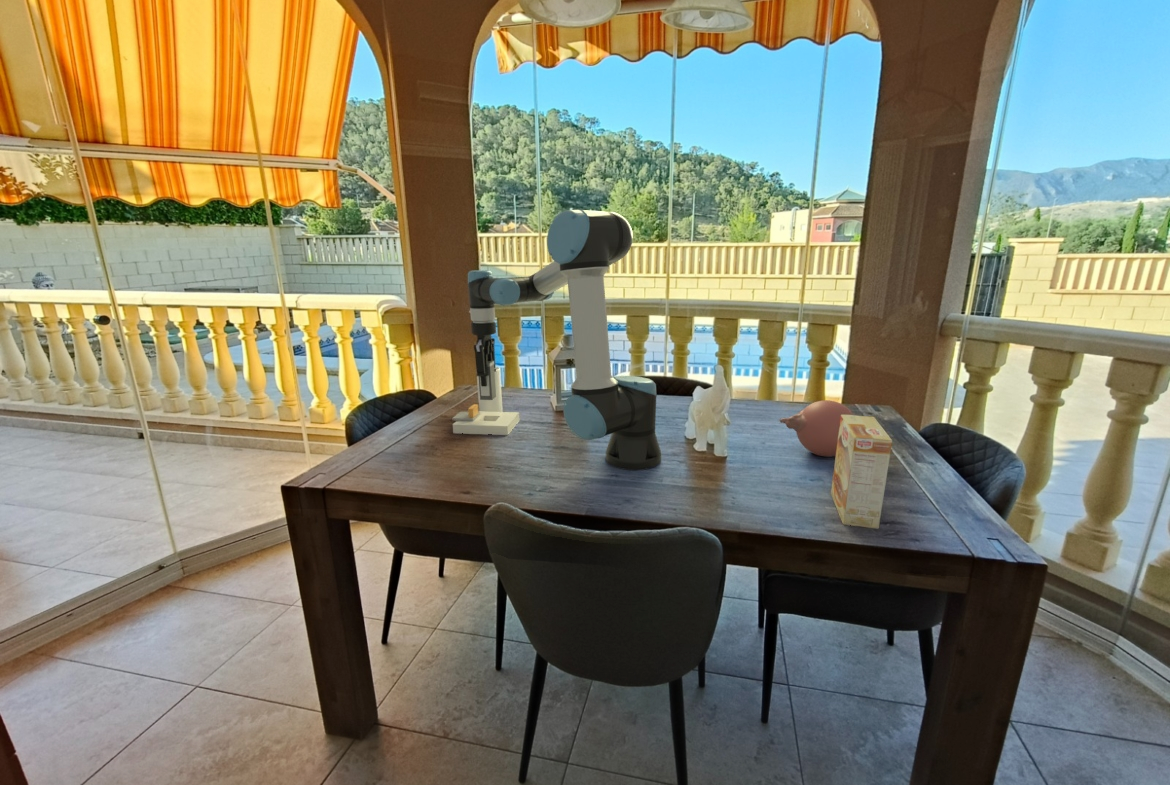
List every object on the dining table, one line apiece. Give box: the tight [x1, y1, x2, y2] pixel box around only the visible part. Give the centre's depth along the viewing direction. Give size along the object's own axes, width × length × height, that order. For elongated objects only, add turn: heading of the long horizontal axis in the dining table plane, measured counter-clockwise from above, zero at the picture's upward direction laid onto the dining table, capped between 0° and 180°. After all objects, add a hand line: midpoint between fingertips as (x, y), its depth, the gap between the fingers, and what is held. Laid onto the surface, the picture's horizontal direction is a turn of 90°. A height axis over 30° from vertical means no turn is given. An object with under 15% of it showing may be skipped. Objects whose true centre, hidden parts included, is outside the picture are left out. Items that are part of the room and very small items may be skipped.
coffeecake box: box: [830, 414, 893, 530], centre depth 108 cm, size 15×7×20 cm, turn 163°
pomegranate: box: [779, 399, 855, 458], centre depth 139 cm, size 15×20×15 cm
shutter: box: [451, 403, 480, 422], centre depth 166 cm, size 7×7×4 cm
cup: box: [475, 366, 504, 412], centre depth 180 cm, size 8×8×16 cm
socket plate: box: [452, 410, 520, 436], centre depth 166 cm, size 18×14×3 cm
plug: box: [479, 361, 496, 400], centre depth 162 cm, size 4×4×12 cm
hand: (488, 393), depth 163 cm, fingers closed on plug, 4 cm apart
